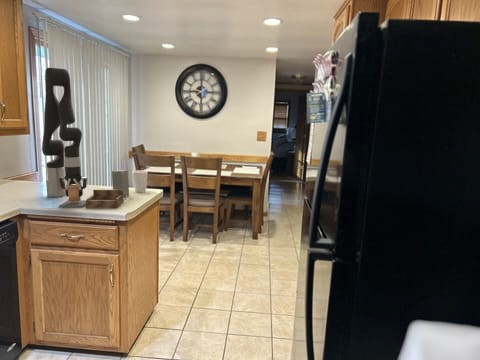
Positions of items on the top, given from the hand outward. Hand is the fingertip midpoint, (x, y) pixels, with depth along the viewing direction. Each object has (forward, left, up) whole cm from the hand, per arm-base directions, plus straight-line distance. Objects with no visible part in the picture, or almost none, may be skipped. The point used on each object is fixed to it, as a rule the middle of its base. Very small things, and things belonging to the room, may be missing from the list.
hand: (74, 196), depth 185 cm
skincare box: (+19, +22, -5) cm, 30 cm away
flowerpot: (0, 0, -2) cm, 2 cm away
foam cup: (+28, +36, -5) cm, 46 cm away
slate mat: (0, 0, -5) cm, 5 cm away
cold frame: (+16, 0, -5) cm, 17 cm away
